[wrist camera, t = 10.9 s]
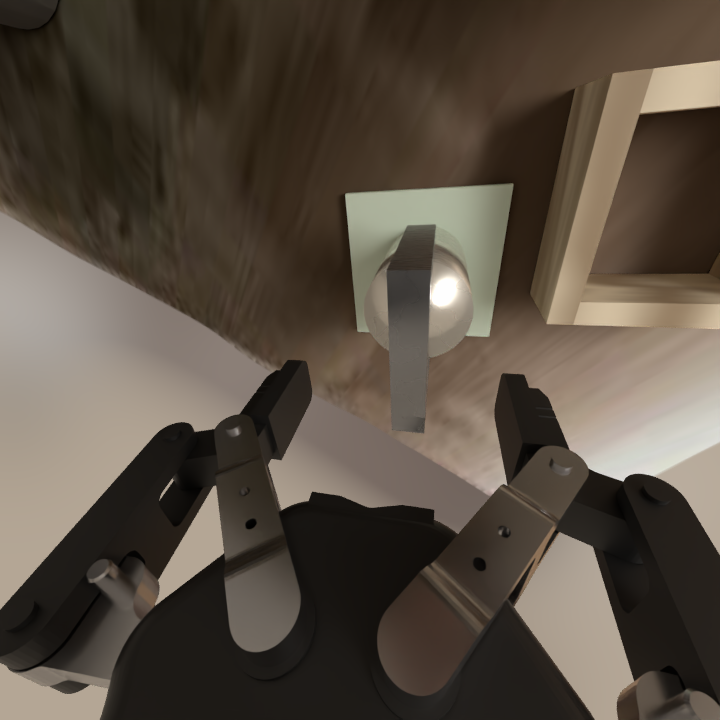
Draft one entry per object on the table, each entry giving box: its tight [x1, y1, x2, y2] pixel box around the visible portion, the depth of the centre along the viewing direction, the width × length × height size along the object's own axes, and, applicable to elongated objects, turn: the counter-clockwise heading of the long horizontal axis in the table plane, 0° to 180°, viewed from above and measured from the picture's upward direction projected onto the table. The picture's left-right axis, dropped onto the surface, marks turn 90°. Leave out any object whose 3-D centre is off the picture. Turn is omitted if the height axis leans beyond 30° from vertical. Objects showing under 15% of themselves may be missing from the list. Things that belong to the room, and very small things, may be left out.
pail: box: [364, 224, 473, 433], centre depth 19 cm, size 6×8×13 cm
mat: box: [345, 183, 514, 337], centre depth 25 cm, size 11×11×1 cm
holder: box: [530, 61, 720, 329], centre depth 18 cm, size 12×12×5 cm
